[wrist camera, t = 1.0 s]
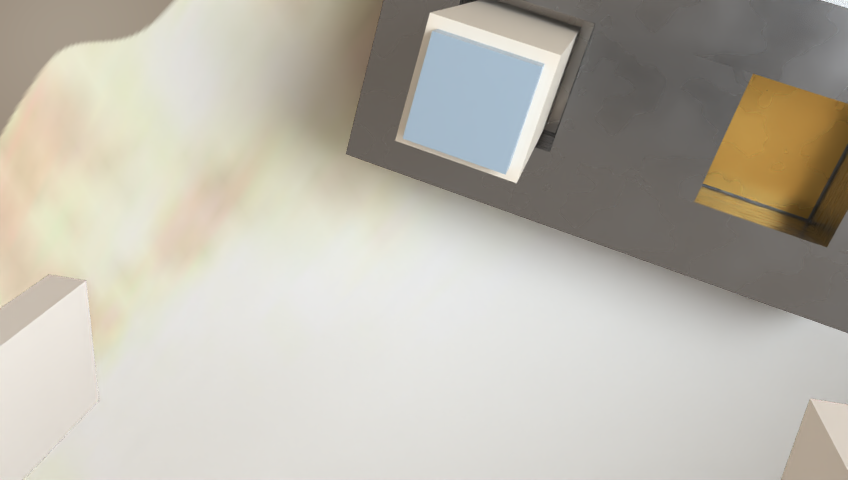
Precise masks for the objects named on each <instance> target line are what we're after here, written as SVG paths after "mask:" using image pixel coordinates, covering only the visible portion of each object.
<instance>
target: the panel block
mask: <svg viewBox="0 0 848 480" xmlns="http://www.w3.org/2000/svg"><path fill="white" fill-rule="evenodd" d="M474 1H478V0H384V1H383V5H382V9H381V13H380V17H379V21H378V25H377V29H376V34H375V38H374V42H373V46H372V50H371V54H370V58H369V62H368V66H367V70H366V74H365V78H364V82H363V86H362V90H361V95H360V99H359V103H358V107H357V111H356V115H355V119H354V123H353V127H352V131H351V135H350V139H349V143H348V147H347V151H346V154H347V155H350V156H353V157H356V158H358V159H361V160H364V161H367V162H370V163H372V164H375V165H378V166H381V167H384V168H386V169H389V170H392V171H395V172H398V173H401V174H403V175H406V176H409V177H412V178H415V179H417V180H420V181H423V182H426V183H429V184H431V185H434V186H437V187H440V188H443V189H445V190H448V191H451V192H454V193H457V194H459V195H462V196H465V197H468V198H471V199H473V200H476V201H479V202H482V203H485V204H487V205H490V206H493V207H496V208H499V209H501V210H504V211H507V212H510V213H513V214H515V215H518V216H521V217H524V218H527V219H530V220H532V221H535V222H538V223H541V224H544V225H546V226H549V227H552V228H555V229H558V230H560V231H563V232H566V233H569V234H572V235H574V236H577V237H580V238H583V239H586V240H588V241H591V242H594V243H597V244H600V245H602V246H605V247H608V248H611V249H614V250H616V251H619V252H622V253H625V254H628V255H630V256H633V257H636V258H639V259H642V260H644V261H647V262H650V263H653V264H656V265H659V266H661V267H664V268H667V269H670V270H673V271H675V272H678V273H681V274H684V275H687V276H689V277H692V278H695V279H698V280H701V281H703V282H706V283H709V284H712V285H715V286H717V287H720V288H723V289H726V290H729V291H731V292H734V293H737V294H740V295H743V296H745V297H748V298H751V299H754V300H757V301H759V302H762V303H765V304H768V305H771V306H773V307H776V308H779V309H782V310H785V311H788V312H790V313H793V314H796V315H799V316H802V317H804V318H807V319H810V320H813V321H816V322H818V323H821V324H824V325H827V326H830V327H832V328H835V329H838V330H841V331H844V332H846V333H848V8H845V7H841V6H838V5H835V4H831V3H828V2H825V1H821V0H497V1H500V2H503V3H507V4H510V5H513V6H516V7H519V8H522V9H525V10H529V11H532V12H535V13H538V14H541V15H544V16H547V17H550V18H554V19H557V20H560V21H563V22H566V23H569V24H572V25H575V26H579V27H581V30H580V33H579V35H578V38H577V41H576V44H575V47H574V50H573V52H572V55H571V58H570V61H569V64H568V66H567V69H566V72H565V75H564V78H563V80H562V83H561V86H560V89H559V92H558V95H557V97H556V100H555V103H554V106H553V109H552V111H551V114H550V117H549V120H548V122H547V124H546V126H545V128H544V130H543V132H542V134H541V136H540V138H539V140H538V142H537V144H536V146H535V148H534V150H533V152H532V154H531V156H530V158H529V160H528V162H527V164H526V166H525V168H524V170H523V172H522V173H521V175H520V177H519V179H518V181H517V183H514V182H511V181H509V180H506V179H503V178H500V177H497V176H494V175H492V174H489V173H486V172H483V171H480V170H477V169H474V168H472V167H469V166H466V165H463V164H460V163H457V162H454V161H452V160H449V159H446V158H443V157H440V156H437V155H435V154H432V153H429V152H426V151H423V150H420V149H417V148H415V147H412V146H409V145H406V144H403V143H400V142H397V141H395V139H396V136H397V132H398V128H399V124H400V121H401V117H402V113H403V110H404V106H405V102H406V99H407V95H408V91H409V88H410V84H411V80H412V77H413V73H414V69H415V66H416V62H417V58H418V55H419V51H420V47H421V44H422V40H423V36H424V33H425V29H426V25H427V22H428V18H429V14H430V12H434V11H438V10H442V9H446V8H450V7H454V6H458V5H462V4H466V3H470V2H474Z"/></svg>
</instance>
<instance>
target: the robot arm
mask: <svg viewBox="0 0 848 480" xmlns="http://www.w3.org/2000/svg"><path fill="white" fill-rule="evenodd" d="M98 401H99V394H98V385H97V375H96V366H95V357H94V347H93V338H92V329H91V319H90V310H89V301H88V291H87V282H86V280H80V279H74V278H68V277H62V276H56V275H47V276H46V277H44V278H43V279H42V280H40V281H39V282H37V283H36V284H34V285H33V286H31V287H30V288H29V289H27V290H26V291H24V292H23V293H21V294H20V295H19V296H17V297H16V298H14V299H13V300H11V301H10V302H8V303H7V304H6V305H4V306H3V307H1V308H0V480H24V479H25V478H26V477H27V476H28V475H29V474H30V472H31V471H32V470H33V469H34V468H35V467H36V466H37V465H38V464H39V463H40V462H41V461H42V460H43V459H44V458H45V457H46V456H47V455H48V454H49V453H50V452H51V451H52V449H53V448H54V447H55V446H56V445H57V444H58V443H59V442H60V441H61V440H62V439H63V438H64V437H65V436H66V435H67V434H68V433H69V432H70V431H71V430H72V429H73V428H74V426H75V425H76V424H77V423H78V422H79V421H80V420H81V419H82V418H83V417H84V416H85V415H86V414H87V413H88V412H89V411H90V410H91V409H92V408H93V407H94V406H95V405H96V403H97V402H98ZM781 480H848V405H847V404H841V403H835V402H829V401H823V400H817V399H811V398H810V400H809V403H808V406H807V408H806V411H805V414H804V417H803V419H802V422H801V425H800V428H799V431H798V433H797V436H796V439H795V442H794V445H793V447H792V450H791V453H790V456H789V459H788V461H787V464H786V467H785V470H784V473H783V475H782V478H781Z"/></svg>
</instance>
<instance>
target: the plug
mask: <svg viewBox="0 0 848 480" xmlns="http://www.w3.org/2000/svg"><path fill="white" fill-rule="evenodd" d="M580 30H581V27H579V26H575V25H572V24H569V23H566V22H563V21H560V20H557V19H554V18H550V17H547V16H544V15H541V14H538V13H535V12H532V11H529V10H525V9H522V8H519V7H516V6H513V5H510V4H507V3H503V2H500V1H497V0H478V1H474V2H470V3H466V4H462V5H458V6H454V7H450V8H446V9H442V10H438V11H434V12H430V14H429V18H428V22H427V25H426V29H425V33H424V36H423V40H422V44H421V47H420V51H419V55H418V58H417V62H416V66H415V69H414V73H413V77H412V80H411V84H410V88H409V91H408V95H407V99H406V102H405V106H404V110H403V113H402V117H401V121H400V124H399V128H398V132H397V136H396V139H395V141H397V142H400V143H403V144H406V145H409V146H412V147H415V148H417V149H420V150H423V151H426V152H429V153H432V154H435V155H437V156H440V157H443V158H446V159H449V160H452V161H454V162H457V163H460V164H463V165H466V166H469V167H472V168H474V169H477V170H480V171H483V172H486V173H489V174H492V175H494V176H497V177H500V178H503V179H506V180H509V181H511V182H514V183H517V181H518V179H519V177H520V175H521V173H522V172H523V170H524V168H525V166H526V164H527V162H528V160H529V158H530V156H531V154H532V152H533V150H534V148H535V146H536V144H537V142H538V140H539V138H540V136H541V134H542V132H543V130H544V128H545V126H546V124H547V122H548V120H549V117H550V114H551V111H552V109H553V106H554V103H555V100H556V97H557V95H558V92H559V89H560V86H561V83H562V80H563V78H564V75H565V72H566V69H567V66H568V64H569V61H570V58H571V55H572V52H573V50H574V47H575V44H576V41H577V38H578V35H579V33H580Z"/></svg>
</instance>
